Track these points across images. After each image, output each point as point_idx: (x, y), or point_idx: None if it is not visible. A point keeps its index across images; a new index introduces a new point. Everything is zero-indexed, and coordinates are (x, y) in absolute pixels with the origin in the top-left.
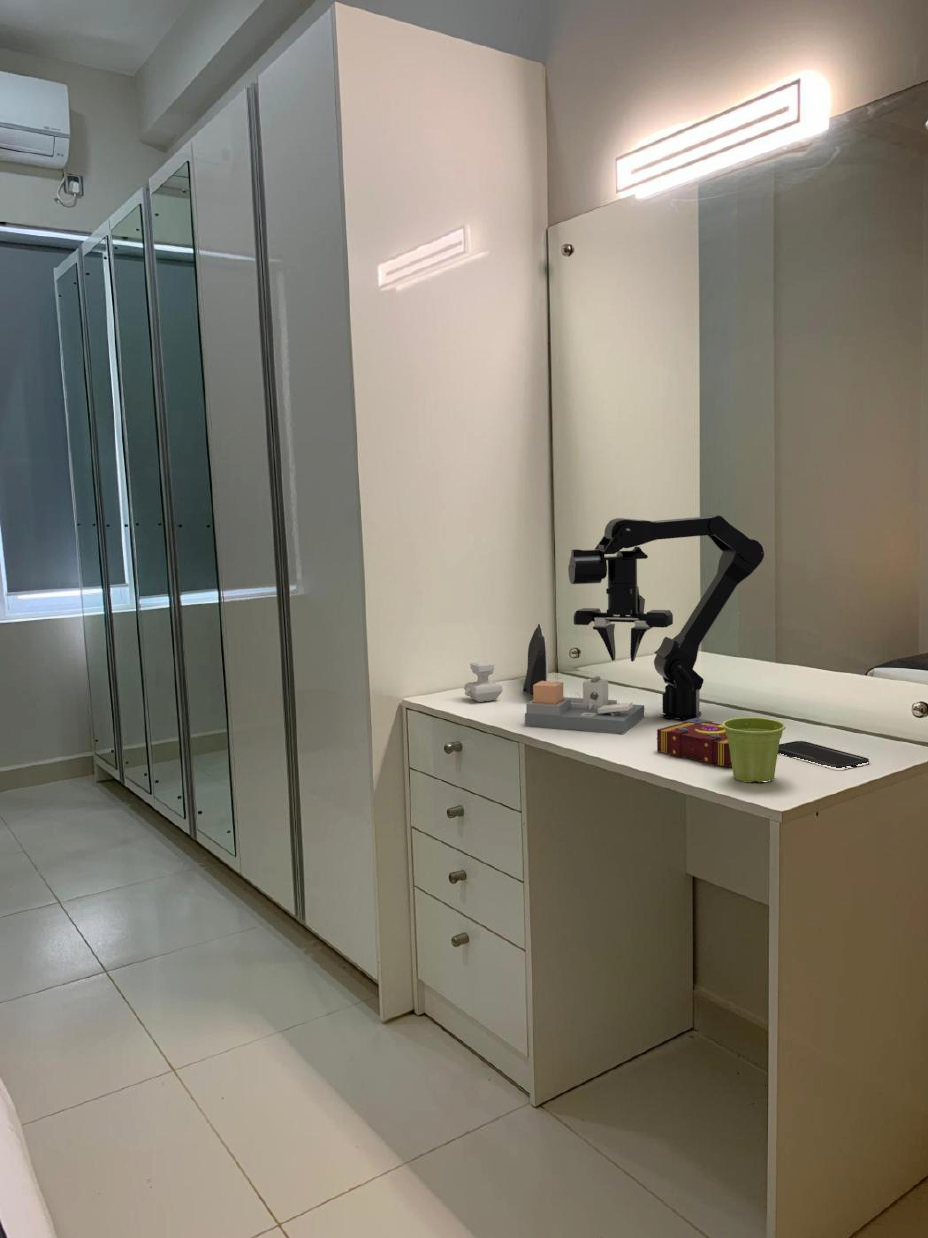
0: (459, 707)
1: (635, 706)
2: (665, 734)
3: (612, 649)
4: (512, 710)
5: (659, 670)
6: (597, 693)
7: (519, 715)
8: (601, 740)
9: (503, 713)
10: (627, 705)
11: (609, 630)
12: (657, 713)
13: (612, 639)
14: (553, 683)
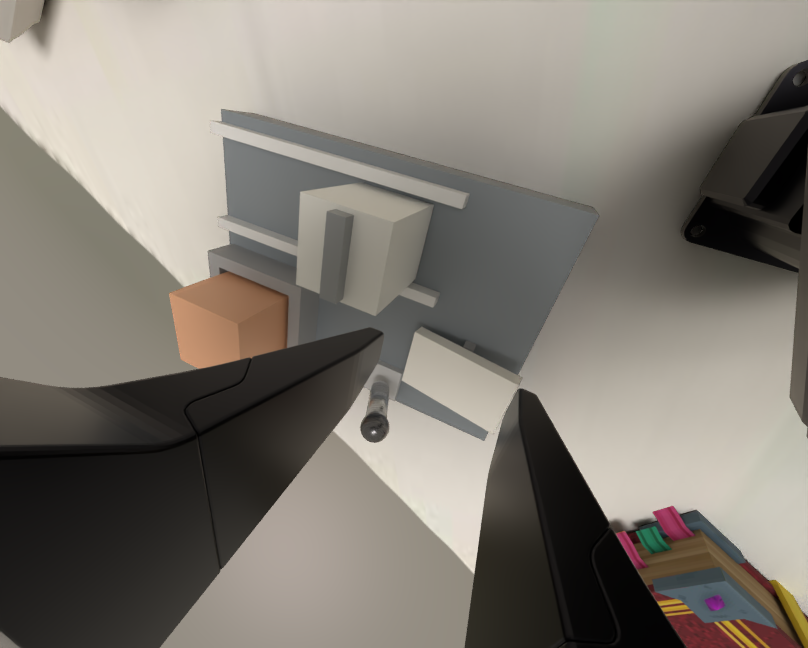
0: (50, 103)
1: (550, 243)
2: None
3: (327, 427)
4: (164, 126)
5: (799, 286)
6: (380, 435)
7: (205, 196)
8: (436, 451)
9: (164, 173)
10: (495, 423)
11: (139, 610)
12: (687, 106)
13: (257, 460)
14: (219, 343)
